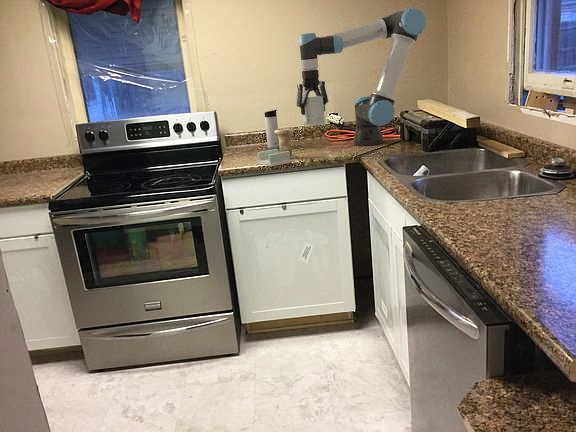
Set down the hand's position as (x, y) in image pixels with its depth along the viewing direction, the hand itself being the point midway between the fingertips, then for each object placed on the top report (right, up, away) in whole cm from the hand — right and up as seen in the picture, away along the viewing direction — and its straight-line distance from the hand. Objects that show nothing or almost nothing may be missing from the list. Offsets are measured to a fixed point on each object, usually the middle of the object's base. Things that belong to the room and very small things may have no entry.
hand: (313, 120), depth 238 cm
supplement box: (0, -2, +1) cm, 2 cm away
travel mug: (-19, -8, +35) cm, 41 cm away
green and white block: (-18, -20, -4) cm, 27 cm away
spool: (-13, -17, +5) cm, 22 cm away
